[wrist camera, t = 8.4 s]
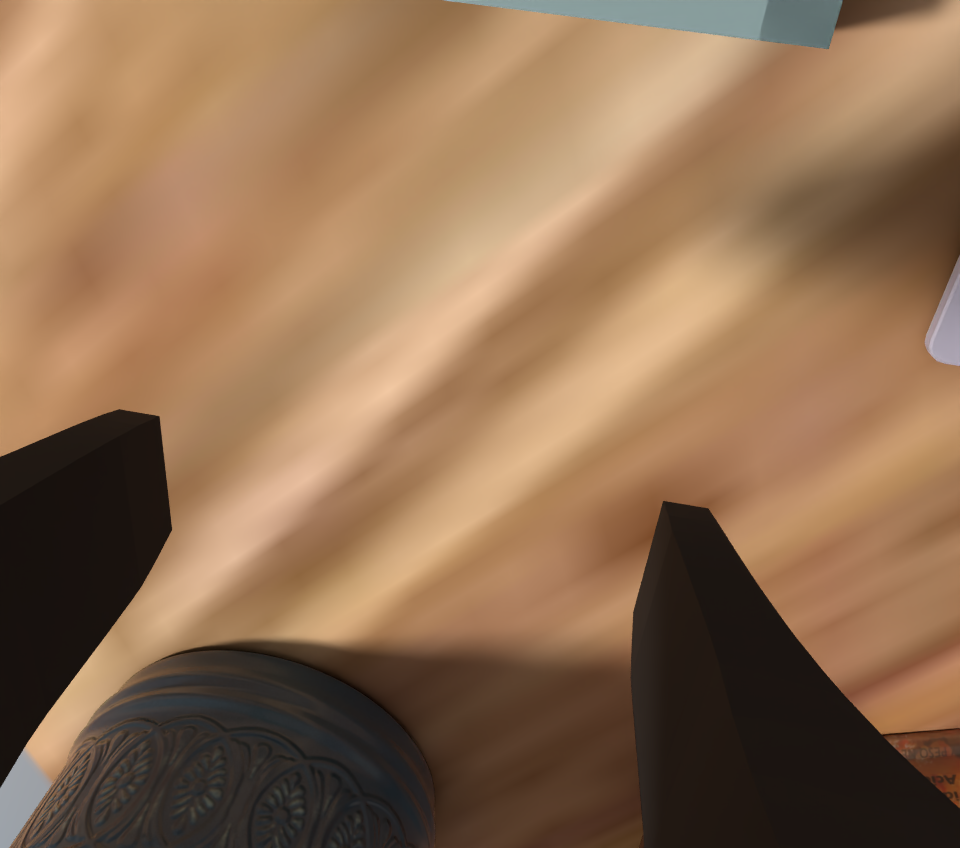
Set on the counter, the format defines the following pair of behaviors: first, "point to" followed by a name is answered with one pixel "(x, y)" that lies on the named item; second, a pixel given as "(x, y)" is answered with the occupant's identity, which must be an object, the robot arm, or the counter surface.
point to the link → (704, 16)
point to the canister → (237, 764)
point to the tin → (930, 758)
